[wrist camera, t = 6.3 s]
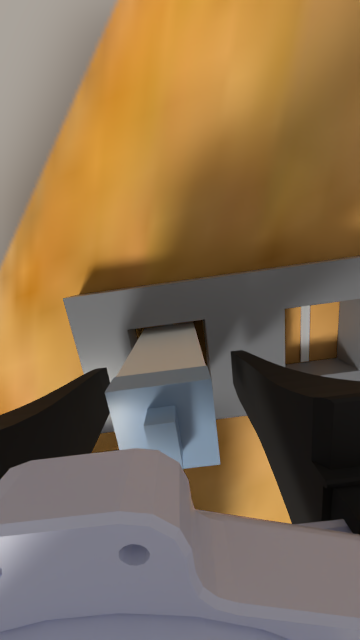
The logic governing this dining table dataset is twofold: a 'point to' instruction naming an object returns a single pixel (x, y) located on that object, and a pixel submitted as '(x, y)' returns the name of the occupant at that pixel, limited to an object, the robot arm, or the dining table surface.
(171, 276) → the dining table surface
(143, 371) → the plug
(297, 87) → the dining table surface
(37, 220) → the dining table surface
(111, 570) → the robot arm
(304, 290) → the socket strip
